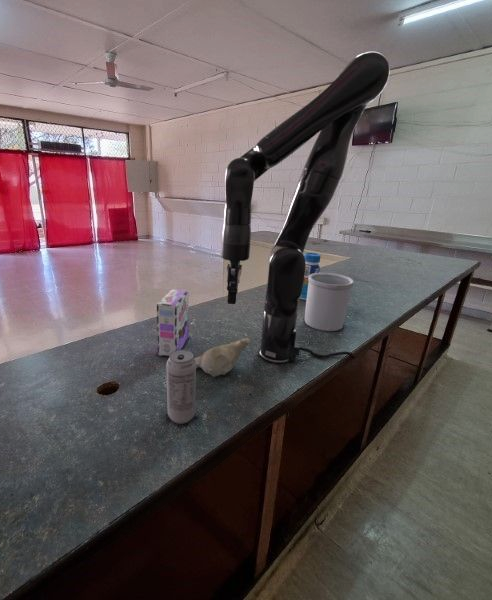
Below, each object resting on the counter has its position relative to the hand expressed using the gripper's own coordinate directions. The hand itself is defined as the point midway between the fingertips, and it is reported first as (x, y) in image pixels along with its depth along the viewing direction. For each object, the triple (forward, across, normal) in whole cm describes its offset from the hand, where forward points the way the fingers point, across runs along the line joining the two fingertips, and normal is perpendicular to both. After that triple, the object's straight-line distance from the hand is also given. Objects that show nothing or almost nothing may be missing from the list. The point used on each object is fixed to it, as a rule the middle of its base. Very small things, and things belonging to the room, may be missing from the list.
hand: (232, 298), depth 89 cm
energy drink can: (+18, -29, +8) cm, 35 cm away
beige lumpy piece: (+18, -8, +1) cm, 20 cm away
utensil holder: (+18, +28, -33) cm, 46 cm away
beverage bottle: (+18, +56, -31) cm, 66 cm away
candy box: (+18, +1, +17) cm, 25 cm away
